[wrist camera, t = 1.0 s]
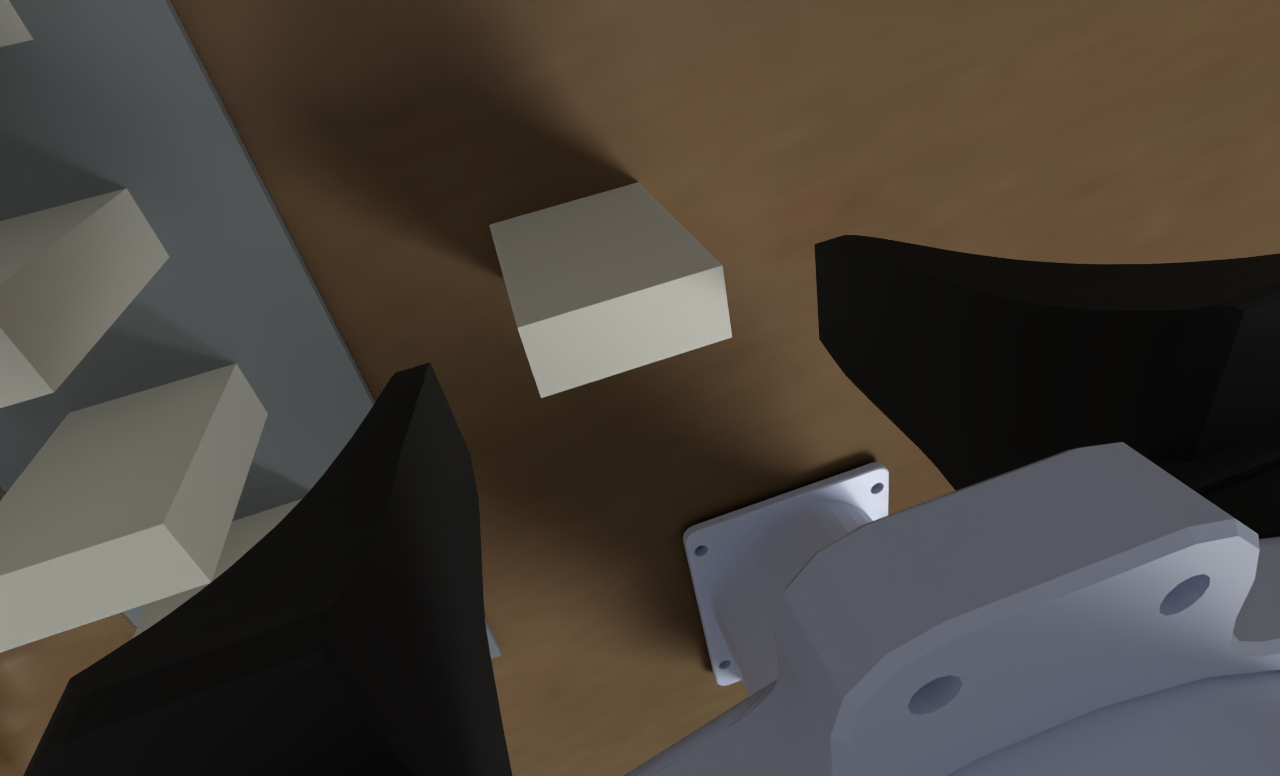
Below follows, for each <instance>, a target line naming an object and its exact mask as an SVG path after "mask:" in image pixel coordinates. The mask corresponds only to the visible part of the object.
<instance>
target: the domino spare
mask: <svg viewBox="0 0 1280 776" xmlns="http://www.w3.org/2000/svg"><path fill="white" fill-rule="evenodd" d="M489 227H490V230H491V234H492V237H493V241H494V245H495V248H496V252H497V256H498V259H499V263H500V267H501V270H502V274H503V278H504V281H505V285H506V288H507V292H508V296H509V299H510V303H511V307H512V310H513V314H514V318H515V321H516V325H517V328H518V331H519V334H520V337H521V340H522V343H523V346H524V349H525V352H526V355H527V358H528V361H529V364H530V367H531V370H532V373H533V376H534V378H535V381H536V384H537V387H538V390H539V393H540V396H541V398H543V397H546V396H550V395H553V394H556V393H559V392H562V391H565V390H568V389H572V388H575V387H578V386H581V385H584V384H587V383H590V382H594V381H597V380H600V379H603V378H606V377H609V376H612V375H615V374H619V373H622V372H625V371H628V370H631V369H634V368H637V367H641V366H644V365H647V364H650V363H653V362H656V361H659V360H663V359H666V358H669V357H672V356H675V355H678V354H681V353H685V352H688V351H691V350H694V349H697V348H700V347H703V346H706V345H710V344H713V343H716V342H719V341H722V340H725V339H728V338H732V332H731V325H730V318H729V310H728V303H727V296H726V288H725V281H724V273H723V266H722V264H721V263H720V262H719V261H718V260H716V259H715V258H714V257H713V256H712V255H711V254H710V253H709V252H708V251H707V250H706V249H705V248H704V247H703V246H702V245H701V244H700V243H699V242H698V241H697V240H696V239H695V238H694V237H693V236H692V235H691V234H690V233H689V232H688V231H687V230H686V229H685V228H684V227H683V226H682V225H681V224H680V223H679V222H678V221H677V220H676V219H675V218H674V217H673V216H672V215H671V214H670V213H669V212H668V211H667V210H666V209H665V208H664V207H663V206H662V205H661V204H660V203H659V202H658V201H657V200H656V199H655V198H654V197H653V196H652V195H651V194H650V193H649V192H648V191H647V190H646V189H645V188H644V187H643V186H642V185H641V184H640V183H639V182H637V183H633V184H630V185H626V186H623V187H619V188H616V189H612V190H609V191H605V192H602V193H598V194H595V195H591V196H588V197H584V198H581V199H577V200H574V201H570V202H567V203H563V204H560V205H556V206H553V207H549V208H546V209H542V210H539V211H535V212H532V213H528V214H525V215H521V216H518V217H514V218H511V219H507V220H504V221H500V222H497V223H493V224H490V225H489Z"/></svg>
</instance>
